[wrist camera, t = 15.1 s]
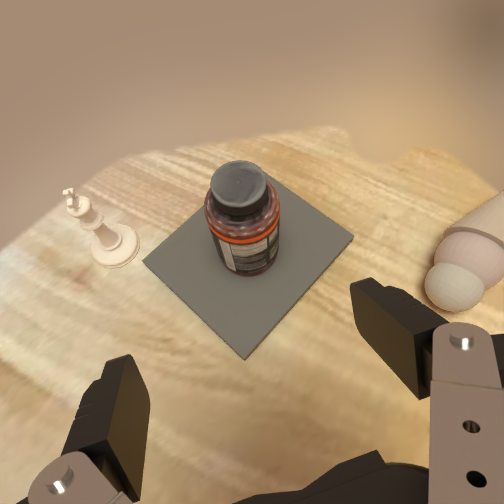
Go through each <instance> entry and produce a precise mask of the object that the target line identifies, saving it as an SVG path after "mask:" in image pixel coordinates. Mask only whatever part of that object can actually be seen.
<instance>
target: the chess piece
mask: <svg viewBox="0 0 504 504" xmlns="http://www.w3.org/2000/svg"><path fill="white" fill-rule="evenodd" d="M63 195H64V197H65V198H66V199H67V212H68V213H69V214H70V215H71V216H73V217H75V218H79V219H80V225H81V227H82V228H83V229H84V230H87V231H92V230H93V231H94V232H95V234H96V236H95V237H94V239H93V241H92V245H91V252H92V255H93V257H94V258H95V260H96V261H97V262H98V263H99V264H100V265H101V266H103V267H106V268H118V267H121V266H124V265H126V264H127V263H129V262H130V261H131V260H132V259H133V258H134V257H135V256H136V254H137V252H138V250H139V246H140V240H139V237H138V235H137V233H136V232H135V231H134V230H133V229H132V228H130V227H129V226H127V225H124V224H112V225H109V226H106V225H104V224H103V220H104V217H103V214H102V213H101V212H100V211H98V210H94V209H92V205H91V202H90V200H89V199H88V198H87V197H85V196H77V197H75V190H74V188H68V189H67V190H63Z"/></svg>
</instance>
